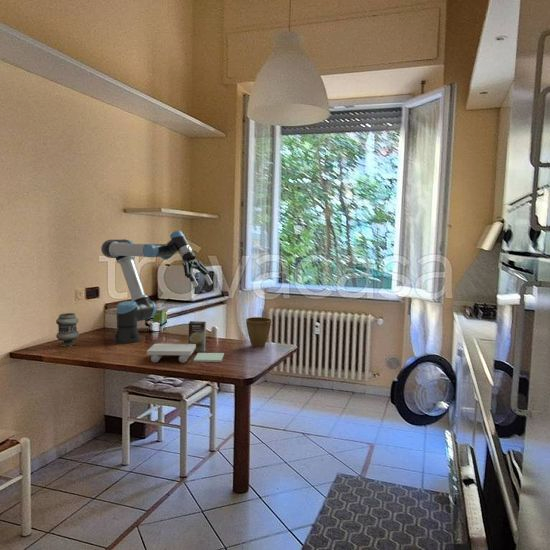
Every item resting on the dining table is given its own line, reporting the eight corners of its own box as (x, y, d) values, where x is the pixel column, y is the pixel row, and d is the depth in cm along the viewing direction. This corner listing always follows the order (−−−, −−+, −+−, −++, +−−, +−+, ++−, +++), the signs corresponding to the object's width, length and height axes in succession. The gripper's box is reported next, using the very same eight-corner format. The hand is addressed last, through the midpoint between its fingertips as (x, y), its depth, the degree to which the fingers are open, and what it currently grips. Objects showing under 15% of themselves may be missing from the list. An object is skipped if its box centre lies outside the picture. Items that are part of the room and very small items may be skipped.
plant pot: (240, 346, 268) (240, 319, 267) (256, 342, 280) (256, 316, 279) (260, 350, 259) (260, 322, 258) (276, 346, 271) (276, 319, 270)
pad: (193, 361, 235) (193, 359, 235) (198, 354, 249) (198, 352, 249) (221, 361, 235) (221, 360, 235) (223, 354, 249) (223, 353, 249)
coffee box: (187, 351, 254) (187, 323, 253) (189, 349, 261) (189, 321, 259) (204, 352, 255) (204, 323, 253) (205, 349, 261) (206, 321, 260)
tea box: (162, 331, 307) (162, 309, 305) (147, 331, 307) (147, 309, 306) (167, 327, 322) (167, 306, 320) (153, 327, 322) (153, 306, 321)
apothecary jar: (52, 346, 261) (51, 315, 259) (64, 342, 273) (63, 312, 271) (72, 347, 259) (71, 316, 258) (83, 343, 271) (82, 312, 270)
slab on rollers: (146, 362, 232) (146, 350, 231) (154, 354, 247) (154, 343, 247) (190, 363, 232) (190, 351, 231) (195, 355, 248) (195, 344, 247)
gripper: (177, 251, 257) (194, 283, 253) (204, 250, 279) (220, 280, 275) (168, 258, 261) (185, 290, 256) (196, 257, 282) (212, 286, 278)
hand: (204, 285), depth 265 cm, fingers open, 13 cm apart
